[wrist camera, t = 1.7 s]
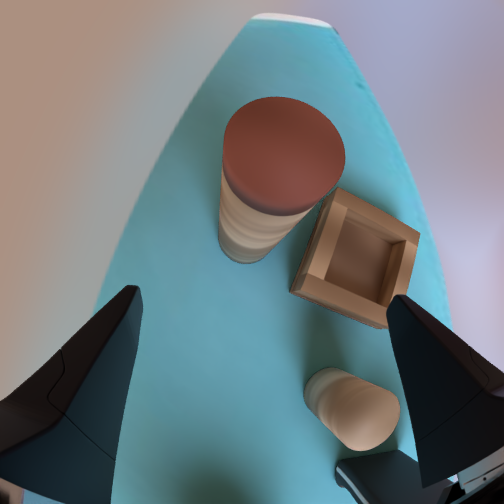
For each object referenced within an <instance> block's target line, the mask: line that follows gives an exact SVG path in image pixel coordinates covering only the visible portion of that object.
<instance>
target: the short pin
mask: <svg viewBox="0 0 504 504" xmlns="http://www.w3.org/2000/svg"><path fill="white" fill-rule="evenodd" d="M304 401H305V404H306V406H307V407H308V408H309V409H310V410H311V412H312V413H313V414H314V415H315V416H316V417H317V418H318V419H319V420H320V421H321V422H322V423H323V424H324V425H325V426H326V427H327V428H328V429H329V430H330V431H331V432H332V433H333V434H334V435H335V436H337V437H338V438H339V439H340V440H341V441H342V442H343V443H344V444H345V445H346V446H347V447H348V448H350V449H352V450H356V451H365V450H369V449H372V448H374V447H376V446H378V445H380V444H381V443H383V442H384V441H385V440H386V439H387V438H388V437H389V436H390V435H391V433H392V432H393V431H394V429H395V427H396V425H397V423H398V420H399V416H400V405H399V401H398V399H397V397H396V396H395V395H394V394H393V393H392V392H390V391H388V390H386V389H383V388H381V387H379V386H377V385H374V384H372V383H370V382H367V381H365V380H363V379H361V378H358V377H356V376H354V375H352V374H350V373H347V372H345V371H343V370H341V369H338V368H333V367H332V368H325V369H322V370H320V371H318V372H316V373H315V374H314V375H313V376H312V377H311V378H310V379H309V381H308V382H307V384H306V386H305V389H304Z"/></svg>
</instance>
